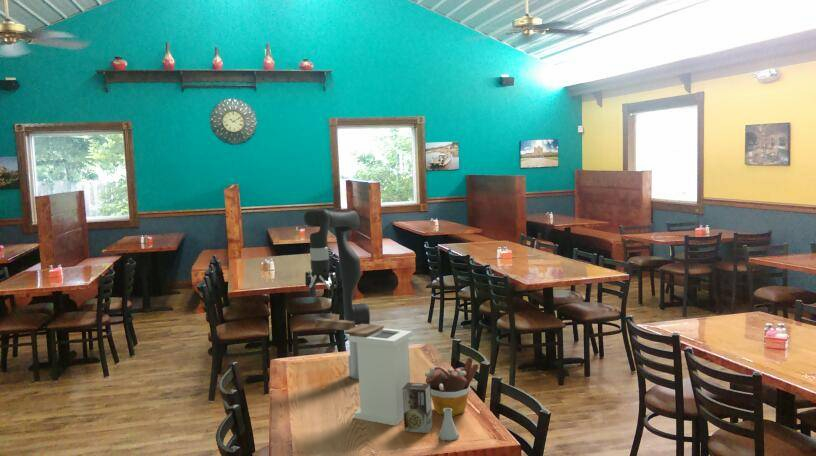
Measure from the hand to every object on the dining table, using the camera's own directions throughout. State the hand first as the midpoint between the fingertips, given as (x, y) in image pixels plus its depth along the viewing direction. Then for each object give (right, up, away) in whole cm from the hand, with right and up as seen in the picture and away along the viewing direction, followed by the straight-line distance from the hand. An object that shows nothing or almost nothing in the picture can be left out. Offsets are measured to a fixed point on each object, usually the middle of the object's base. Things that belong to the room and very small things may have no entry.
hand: (322, 297), depth 268 cm
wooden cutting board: (+11, -11, -14) cm, 21 cm away
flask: (+50, -45, -39) cm, 78 cm away
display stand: (+26, -43, -18) cm, 53 cm away
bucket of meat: (+52, -42, -16) cm, 69 cm away
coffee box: (+39, -45, -31) cm, 67 cm away
